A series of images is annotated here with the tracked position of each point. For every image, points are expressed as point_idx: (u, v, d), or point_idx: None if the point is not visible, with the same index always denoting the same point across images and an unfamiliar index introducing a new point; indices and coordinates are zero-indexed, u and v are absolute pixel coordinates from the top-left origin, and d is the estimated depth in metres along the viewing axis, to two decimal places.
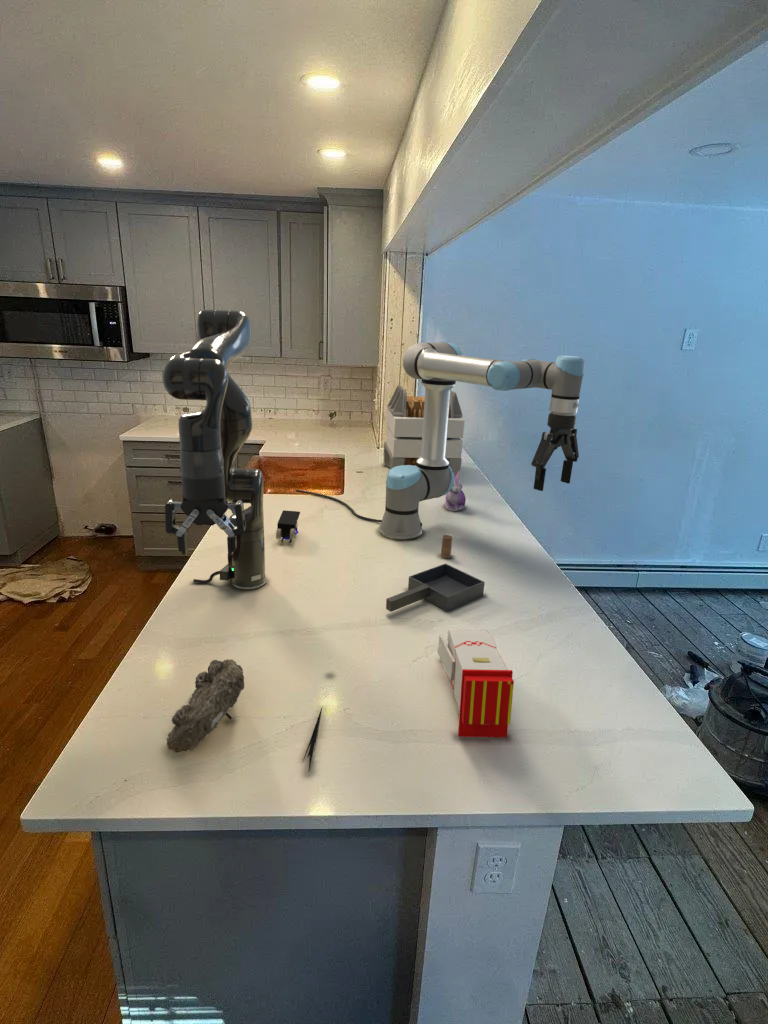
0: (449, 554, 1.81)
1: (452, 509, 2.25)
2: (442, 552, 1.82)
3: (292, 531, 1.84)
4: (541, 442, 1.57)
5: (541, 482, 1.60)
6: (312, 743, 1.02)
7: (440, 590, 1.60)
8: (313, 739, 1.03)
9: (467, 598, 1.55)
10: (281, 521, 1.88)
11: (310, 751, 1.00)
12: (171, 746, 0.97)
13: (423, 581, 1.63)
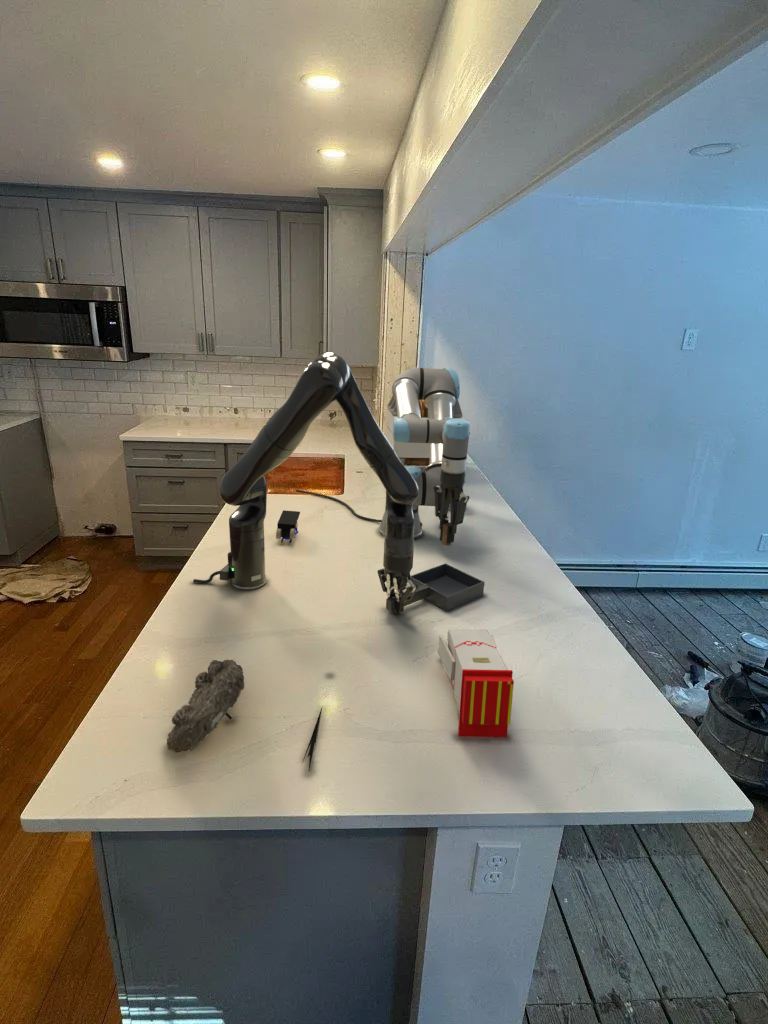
0: None
1: None
2: (443, 540, 1.81)
3: (292, 531, 1.84)
4: None
5: None
6: (312, 743, 1.02)
7: (440, 590, 1.60)
8: (313, 739, 1.03)
9: (467, 598, 1.55)
10: (281, 521, 1.88)
11: (310, 751, 1.00)
12: (171, 746, 0.97)
13: (423, 581, 1.63)
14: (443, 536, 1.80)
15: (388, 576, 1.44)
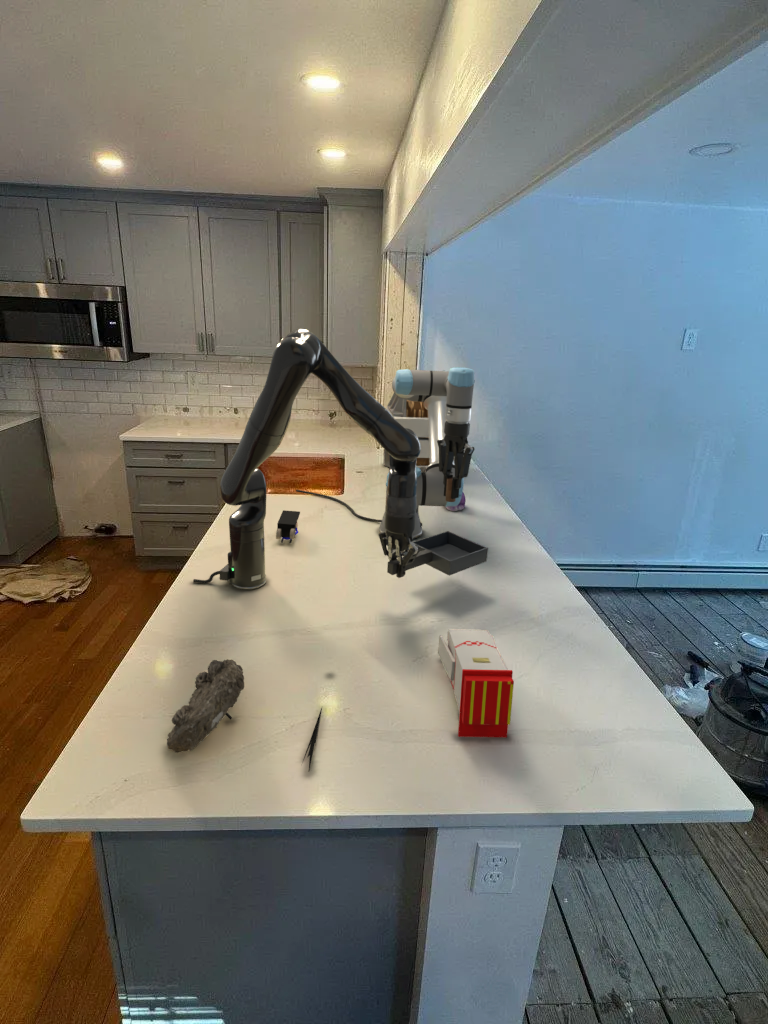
0: None
1: (452, 509, 2.25)
2: (447, 495, 1.75)
3: (292, 531, 1.84)
4: None
5: None
6: (312, 743, 1.02)
7: (442, 556, 1.56)
8: (313, 739, 1.03)
9: (470, 563, 1.51)
10: (281, 521, 1.88)
11: (310, 751, 1.00)
12: (171, 746, 0.97)
13: (425, 548, 1.60)
14: (447, 491, 1.75)
15: (390, 538, 1.41)
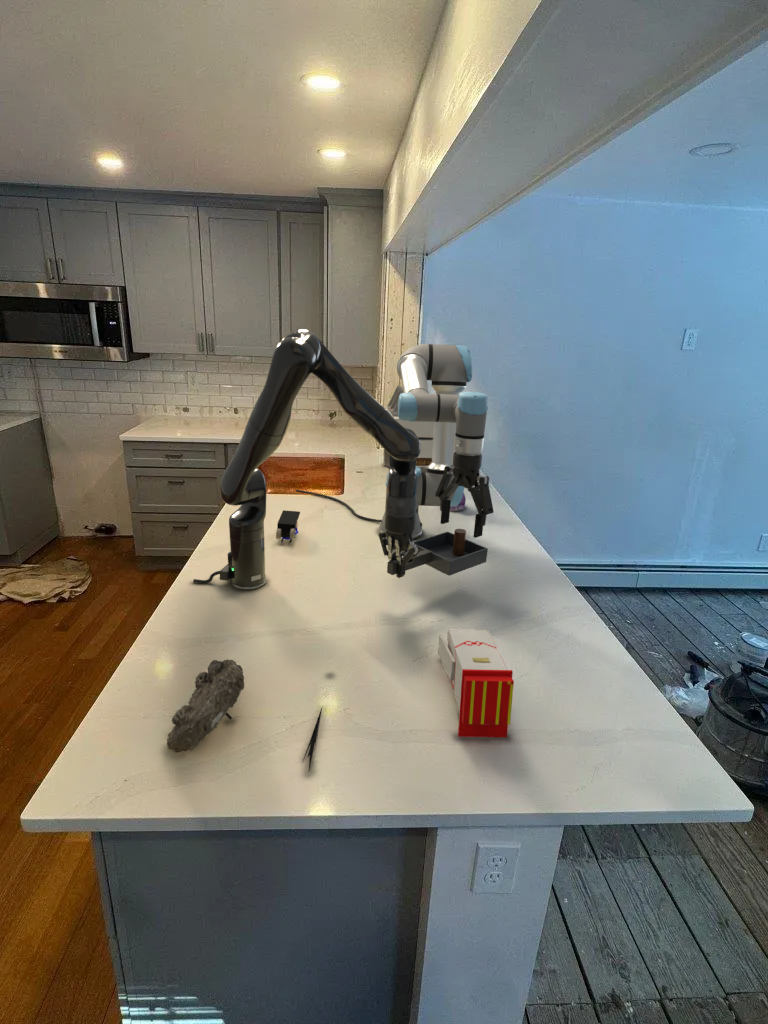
0: (462, 551, 1.57)
1: (452, 509, 2.25)
2: (454, 549, 1.57)
3: (292, 531, 1.84)
4: None
5: None
6: (312, 743, 1.02)
7: (442, 557, 1.56)
8: (313, 739, 1.03)
9: (470, 564, 1.51)
10: (281, 521, 1.88)
11: (310, 751, 1.00)
12: (171, 746, 0.97)
13: (425, 548, 1.60)
14: (455, 544, 1.57)
15: (389, 538, 1.41)
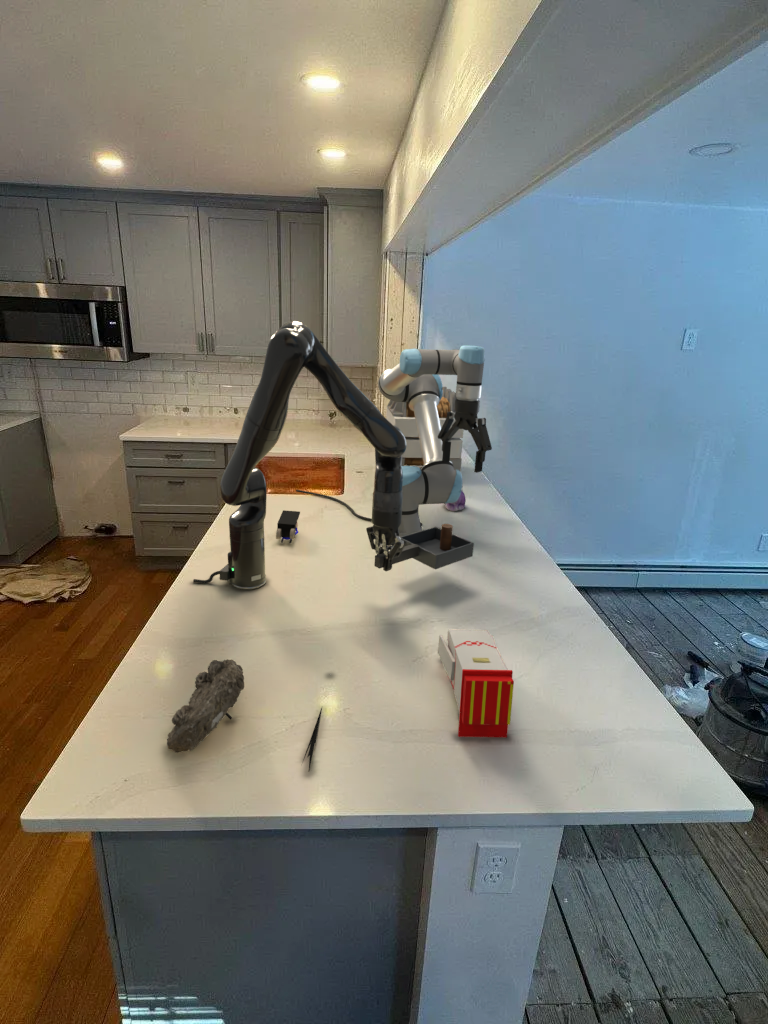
0: (449, 546, 1.61)
1: (452, 509, 2.25)
2: (441, 543, 1.61)
3: (292, 531, 1.84)
4: None
5: None
6: (312, 743, 1.02)
7: (429, 551, 1.60)
8: (313, 739, 1.03)
9: (456, 558, 1.55)
10: (281, 521, 1.88)
11: (310, 751, 1.00)
12: (171, 746, 0.97)
13: (413, 543, 1.63)
14: (442, 539, 1.60)
15: (377, 532, 1.44)
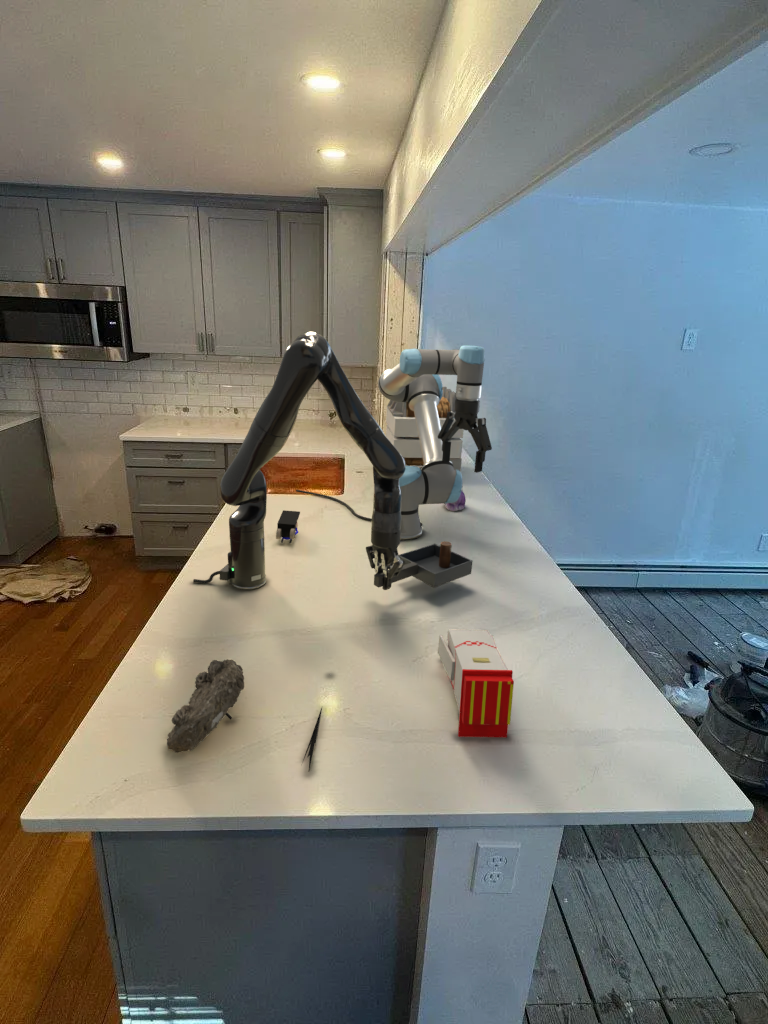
0: (448, 563, 1.62)
1: (452, 509, 2.25)
2: (440, 561, 1.62)
3: (292, 531, 1.84)
4: None
5: None
6: (312, 743, 1.02)
7: (428, 569, 1.61)
8: (313, 739, 1.03)
9: (455, 576, 1.56)
10: (281, 521, 1.88)
11: (310, 751, 1.00)
12: (171, 746, 0.97)
13: (412, 560, 1.65)
14: (441, 557, 1.62)
15: (376, 552, 1.46)
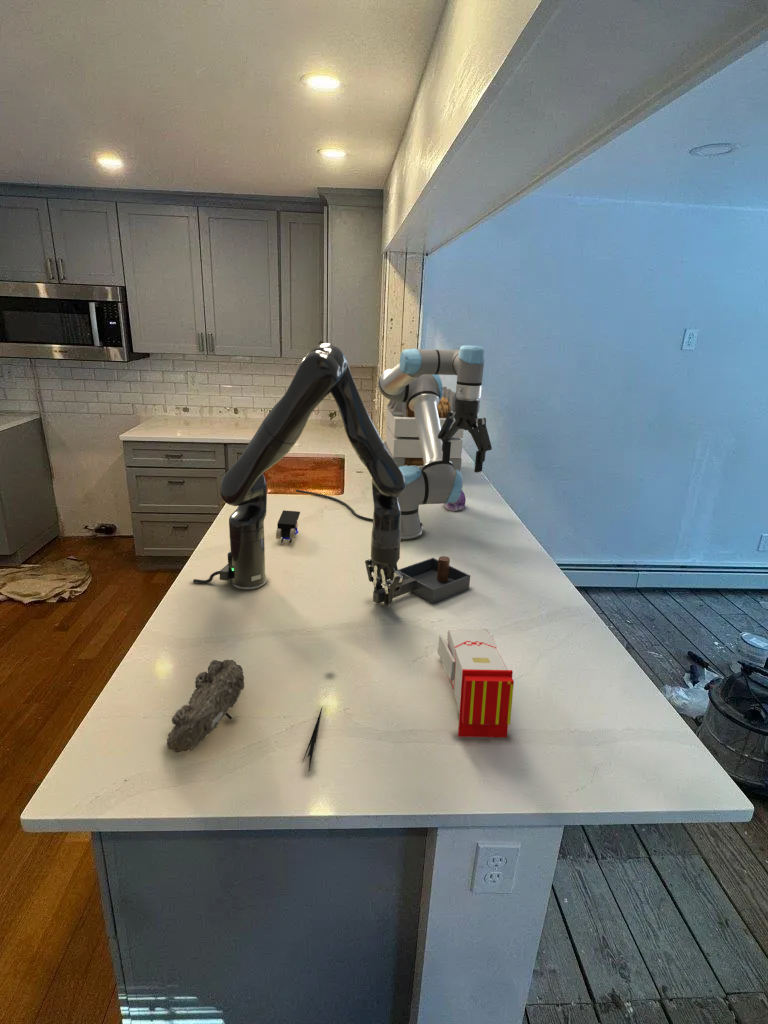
0: (446, 578, 1.64)
1: (452, 509, 2.25)
2: (438, 575, 1.64)
3: (292, 531, 1.84)
4: None
5: None
6: (312, 743, 1.02)
7: (427, 583, 1.63)
8: (313, 739, 1.03)
9: (453, 591, 1.58)
10: (281, 521, 1.88)
11: (310, 751, 1.00)
12: (171, 746, 0.97)
13: (410, 575, 1.67)
14: (439, 571, 1.64)
15: (375, 567, 1.48)
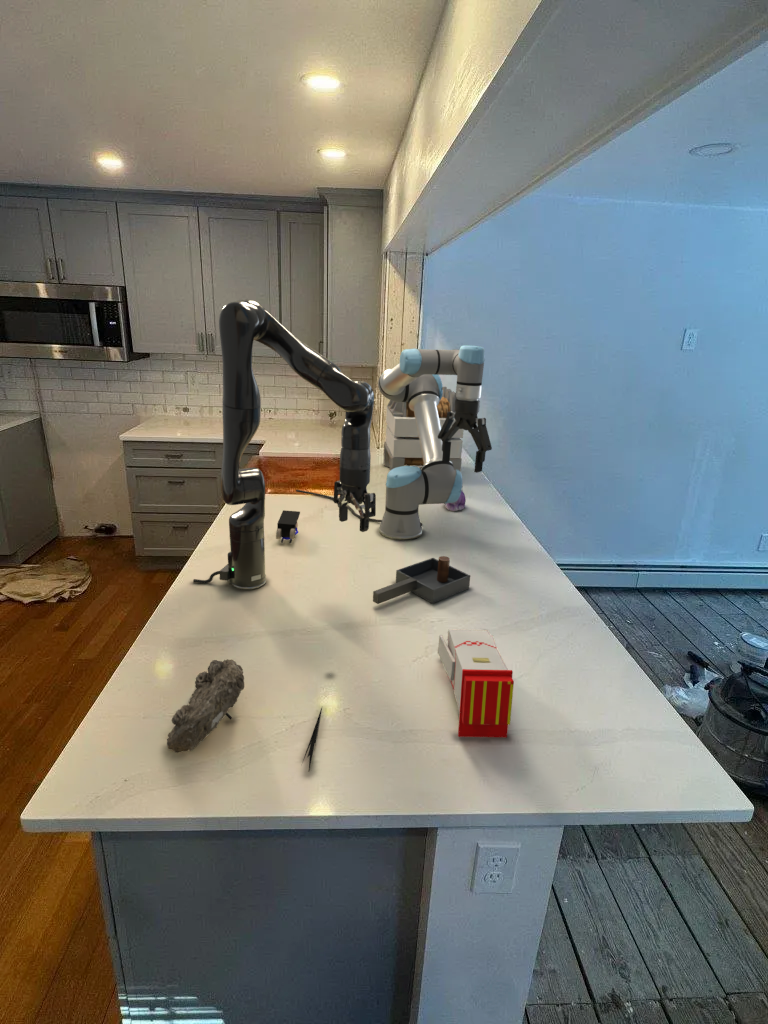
0: (446, 578, 1.64)
1: (452, 509, 2.25)
2: (438, 575, 1.64)
3: (292, 531, 1.84)
4: None
5: None
6: (312, 743, 1.02)
7: (427, 583, 1.63)
8: (313, 739, 1.03)
9: (453, 591, 1.58)
10: (281, 521, 1.88)
11: (310, 751, 1.00)
12: (171, 746, 0.97)
13: (410, 575, 1.67)
14: (439, 571, 1.64)
15: (345, 492, 1.41)
